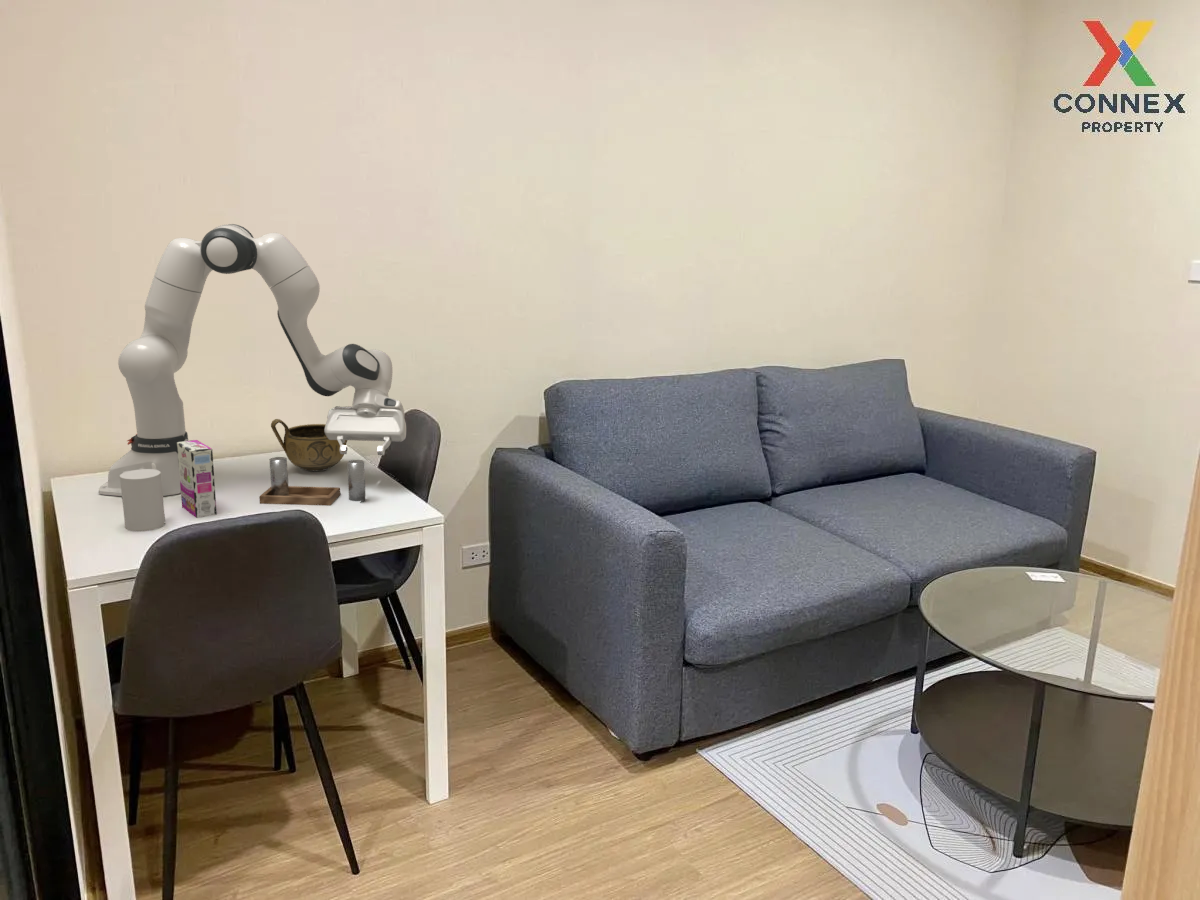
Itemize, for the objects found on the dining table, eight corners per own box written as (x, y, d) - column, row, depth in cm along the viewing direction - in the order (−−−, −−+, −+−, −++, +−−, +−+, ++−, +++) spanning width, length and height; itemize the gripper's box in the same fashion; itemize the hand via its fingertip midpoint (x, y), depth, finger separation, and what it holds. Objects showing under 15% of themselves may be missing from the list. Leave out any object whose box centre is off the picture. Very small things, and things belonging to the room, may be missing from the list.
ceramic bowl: (348, 457, 271) (346, 406, 267) (365, 471, 256) (363, 418, 253) (268, 465, 259) (265, 413, 256) (282, 481, 245) (278, 425, 242)
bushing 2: (347, 503, 229) (345, 463, 226) (351, 498, 233) (349, 459, 230) (363, 503, 229) (361, 464, 226) (367, 498, 233) (365, 460, 230)
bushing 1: (269, 500, 227) (267, 460, 225) (275, 495, 231) (272, 456, 229) (286, 500, 227) (283, 461, 225) (291, 496, 231) (289, 457, 229)
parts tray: (259, 505, 225) (259, 496, 224) (272, 494, 234) (272, 485, 233) (330, 507, 225) (329, 498, 224) (340, 496, 234) (340, 487, 233)
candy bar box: (218, 516, 217) (213, 448, 213) (196, 520, 213) (190, 451, 209) (202, 504, 225) (197, 438, 221) (181, 508, 222) (175, 441, 218)
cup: (171, 519, 214) (166, 469, 211) (156, 531, 206) (151, 479, 203) (135, 519, 213) (130, 468, 210) (118, 531, 205) (112, 478, 202)
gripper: (326, 399, 238) (317, 446, 231) (406, 401, 238) (399, 448, 231) (332, 413, 243) (323, 458, 236) (410, 414, 243) (403, 460, 236)
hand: (361, 453), depth 234 cm, fingers open, 8 cm apart
